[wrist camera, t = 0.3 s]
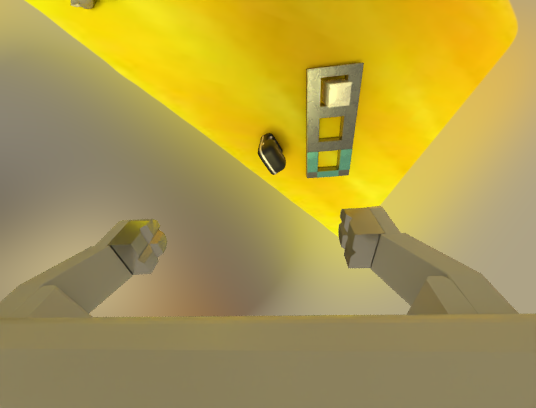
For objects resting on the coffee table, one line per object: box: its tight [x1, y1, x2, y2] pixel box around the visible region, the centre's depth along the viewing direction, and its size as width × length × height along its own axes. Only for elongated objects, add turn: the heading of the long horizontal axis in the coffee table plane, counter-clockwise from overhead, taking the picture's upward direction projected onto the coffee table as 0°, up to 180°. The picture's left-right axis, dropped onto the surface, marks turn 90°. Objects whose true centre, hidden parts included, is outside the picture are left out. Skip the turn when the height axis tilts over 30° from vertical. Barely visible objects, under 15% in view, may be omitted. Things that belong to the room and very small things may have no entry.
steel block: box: [322, 79, 352, 107], centre depth 43 cm, size 4×4×8 cm
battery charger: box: [258, 133, 286, 175], centre depth 49 cm, size 7×4×11 cm, turn 33°
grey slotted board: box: [306, 63, 364, 178], centre depth 50 cm, size 25×11×3 cm, turn 6°
